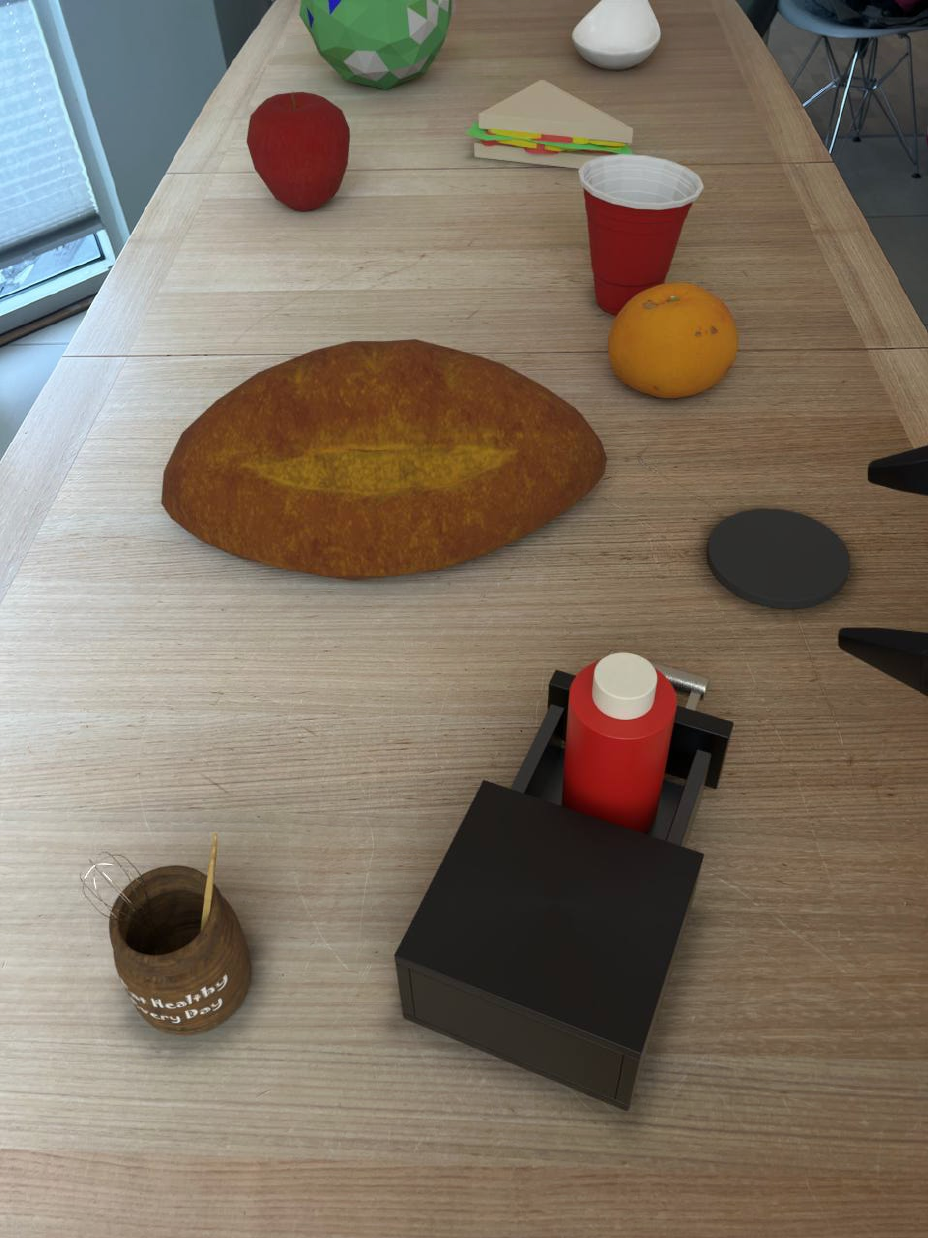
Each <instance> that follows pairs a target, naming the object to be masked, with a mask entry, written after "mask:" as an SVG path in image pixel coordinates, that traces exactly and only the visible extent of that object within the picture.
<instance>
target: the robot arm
mask: <svg viewBox="0 0 928 1238" xmlns="http://www.w3.org/2000/svg"><path fill="white" fill-rule="evenodd" d="M867 481H868V482H869V483H870V484H873V485H876V486H880V487H884V488H886V489H887V488H888V489H891V490H895V491H898V492H904V493H909V494H915V495H919V496H920V495H921V496H925V497H928V444H927V445H923V446H919V447H916V448H913V449H909V450H906V451H902V452H898V453H895V454H891V455H887V456H884V457H881V458H877V459H874V460H871V461H870V462H869V463H868V466H867ZM837 633H838V634H837V645H838V648H839V649H840V650H842V651H843V652H845V653H847V654H849V655H851V656H852V657H854V658H856V659H858V660H860V661H862V662H863V663H865V664H867V665H869V666H871V667H873V668H874V669H876V670H878V671H880V672H881V673H883V674H885V675H887V676H888V677H891V678H892V679H894V680H896V681H898V682H900V683H902V684H903V685H905V686H908V687H909V688H911V689H913V690H915V691H916V692H919V693H920V694H922V695H924V696H925V697H927V698H928V632H925V631H916V630H915V631H914V630H907V629H896V628H888V627H887V628H886V627H872V626H871V627H863V626H861V627H860V626H859V627H854V626H853V627H840V628H839V629H838V632H837Z"/></svg>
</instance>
